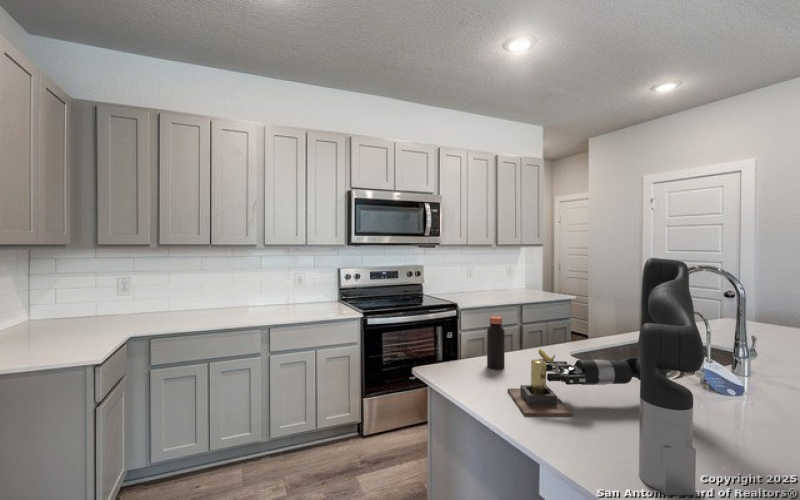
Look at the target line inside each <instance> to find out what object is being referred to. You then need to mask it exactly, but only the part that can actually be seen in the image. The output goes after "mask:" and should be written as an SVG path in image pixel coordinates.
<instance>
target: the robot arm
mask: <svg viewBox="0 0 800 500" xmlns="http://www.w3.org/2000/svg"><path fill="white" fill-rule="evenodd" d="M641 279H642V281H641V295H640V296H641V297H640V299H641V300H640V307H641V308H640V311H641V313H640V327H639V328H640V329H639V334H638V341H637V349H638V352H639V356H638V355H637V356H632V357H627V358H624V359H621V360H619V359H618V360H615V359H613V360H609V359H608V360H606V359H577V360H576V362H575V364H574V365H572V364H570V363H568V361H561V360H560V361H557V360H556V361H555V360H554V361H549V363H546V372H547V373H546V381H548V382H561V383H565V385H566V386H567V385H568V386H569V385H570V386H571V385H574V386H575V385H582V386H600V385H601V386H604V385H605V386H606V385H619V384H620V385H624V384H629V383H630V382H631V381H632V379H633V378H635V379H637V380H638V381H640V382H639V421H638V423H639V425H638V426H639V427H638V429H639V430H638V432H639V434H638V435H639V436H638V437H639V439H638V440H639V441H638V476H639V478H640V479H641V480H642V481H643V482H644V483H645V484H646V485H647V486H649V487H651V488H653V489H655V490H657V491H659V492H661V493H662V495H664V496H695V495H696V471H697V470H696V466H697V465H696V464H697V463H696V462H697V461H696V459H697V455H696V454H697V450H696V448H695V447H694V446H693V444H694V443H693V441H694V440H693V439H694V437H693V435H694V433H693V432H694V431H693V430H694V425H693V424H694V395H693V393H692V391H691V389H689V388H687V387H686V386H684V385H682V384H680V383H678V382H676V381H673V380H671V379H669V378H668V377H667V376H668V375H667V374H668V373H667V370H668V371H674V372H681V373H695V372H698V371H699V370H700V369H701V368H702V366H703V363H704V358H705V351H704V350H705V349H704V344H703V339H702V337H701V334H700V331H699V328H698V326H697V323H696V318H695V308H694V303H693V298H692V294H691V291H690V271H689V267H688V265H687V264H686V263H685V262H683V261H681V260H675V259H667V258H658V257H649V258H647V259H646V260H645V262H644V265H643V270H642V278H641ZM549 372H551V373H549Z"/></svg>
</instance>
